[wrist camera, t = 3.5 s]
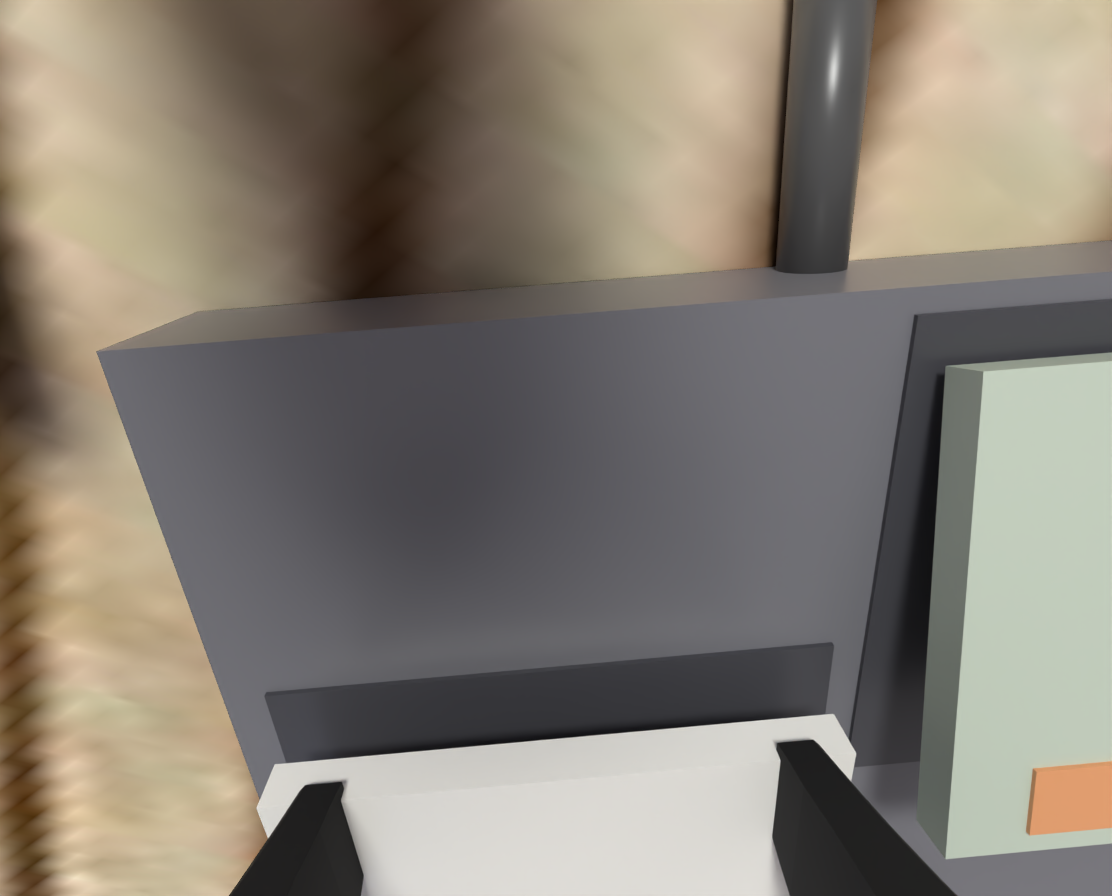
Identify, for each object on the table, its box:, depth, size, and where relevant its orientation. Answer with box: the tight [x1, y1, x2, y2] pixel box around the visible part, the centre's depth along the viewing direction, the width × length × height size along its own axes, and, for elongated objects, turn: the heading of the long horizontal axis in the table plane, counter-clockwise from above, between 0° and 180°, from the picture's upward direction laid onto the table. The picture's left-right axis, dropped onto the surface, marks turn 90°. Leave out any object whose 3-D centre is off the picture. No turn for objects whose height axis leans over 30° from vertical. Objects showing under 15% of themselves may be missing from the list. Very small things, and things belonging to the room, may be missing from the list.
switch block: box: [96, 0, 1112, 896], centre depth 12 cm, size 22×22×3 cm
